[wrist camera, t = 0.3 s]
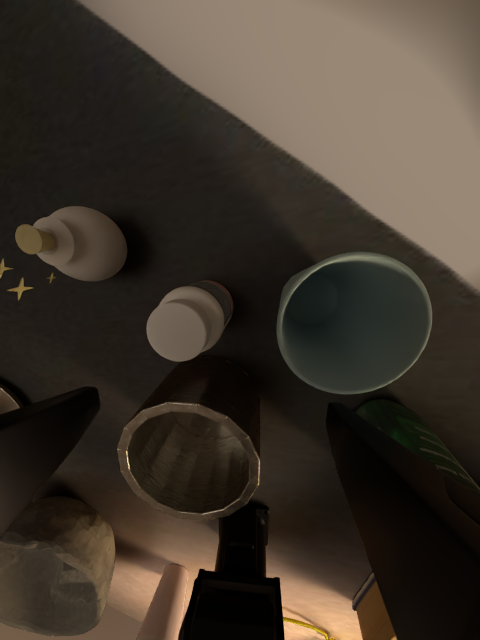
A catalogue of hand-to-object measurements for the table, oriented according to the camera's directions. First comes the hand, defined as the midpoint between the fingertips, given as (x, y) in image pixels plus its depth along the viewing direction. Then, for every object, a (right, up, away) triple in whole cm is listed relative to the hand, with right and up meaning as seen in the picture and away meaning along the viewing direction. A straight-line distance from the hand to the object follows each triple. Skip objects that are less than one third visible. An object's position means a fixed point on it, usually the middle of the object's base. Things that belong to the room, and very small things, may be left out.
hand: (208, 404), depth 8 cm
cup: (+8, +5, +13) cm, 16 cm away
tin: (-2, -6, +17) cm, 18 cm away
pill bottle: (-2, +5, +14) cm, 15 cm away
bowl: (-22, -26, +24) cm, 42 cm away
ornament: (-12, +10, +14) cm, 21 cm away
